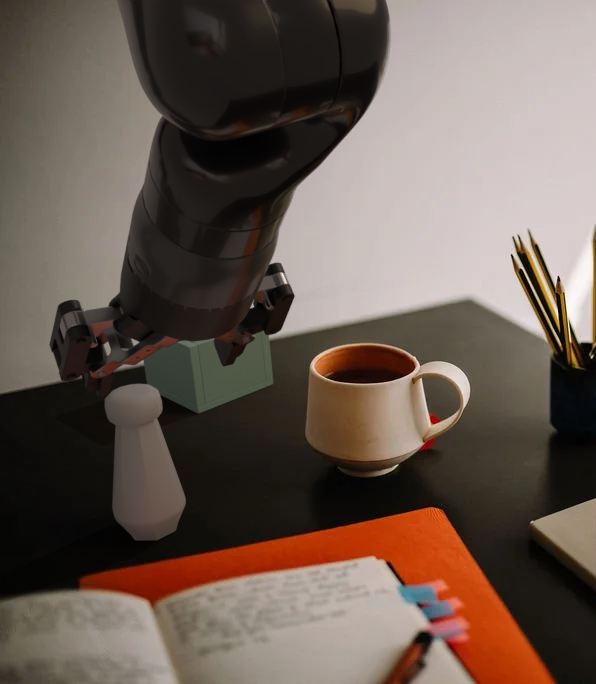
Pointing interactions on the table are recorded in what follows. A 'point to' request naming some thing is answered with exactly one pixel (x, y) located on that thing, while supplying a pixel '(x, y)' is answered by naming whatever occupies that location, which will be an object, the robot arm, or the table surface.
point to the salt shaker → (142, 465)
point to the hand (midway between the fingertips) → (162, 368)
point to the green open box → (208, 373)
